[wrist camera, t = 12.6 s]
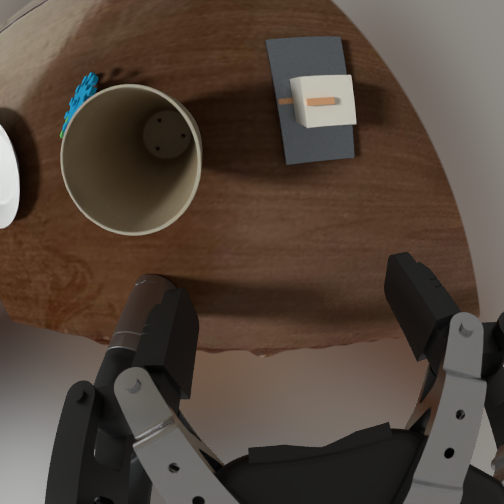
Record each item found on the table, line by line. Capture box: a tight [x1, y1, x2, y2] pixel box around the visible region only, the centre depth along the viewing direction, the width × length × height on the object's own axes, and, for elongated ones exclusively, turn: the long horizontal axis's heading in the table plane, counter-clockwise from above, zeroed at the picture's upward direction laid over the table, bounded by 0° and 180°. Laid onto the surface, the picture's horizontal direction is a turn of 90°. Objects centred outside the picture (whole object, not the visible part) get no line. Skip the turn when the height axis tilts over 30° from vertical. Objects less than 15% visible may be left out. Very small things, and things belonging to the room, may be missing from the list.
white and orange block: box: [290, 75, 356, 128], centre depth 28 cm, size 6×6×7 cm
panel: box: [265, 37, 354, 165], centre depth 30 cm, size 18×10×6 cm, turn 10°
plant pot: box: [61, 84, 202, 235], centre depth 28 cm, size 15×15×16 cm
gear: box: [60, 72, 99, 138], centre depth 29 cm, size 11×6×10 cm
